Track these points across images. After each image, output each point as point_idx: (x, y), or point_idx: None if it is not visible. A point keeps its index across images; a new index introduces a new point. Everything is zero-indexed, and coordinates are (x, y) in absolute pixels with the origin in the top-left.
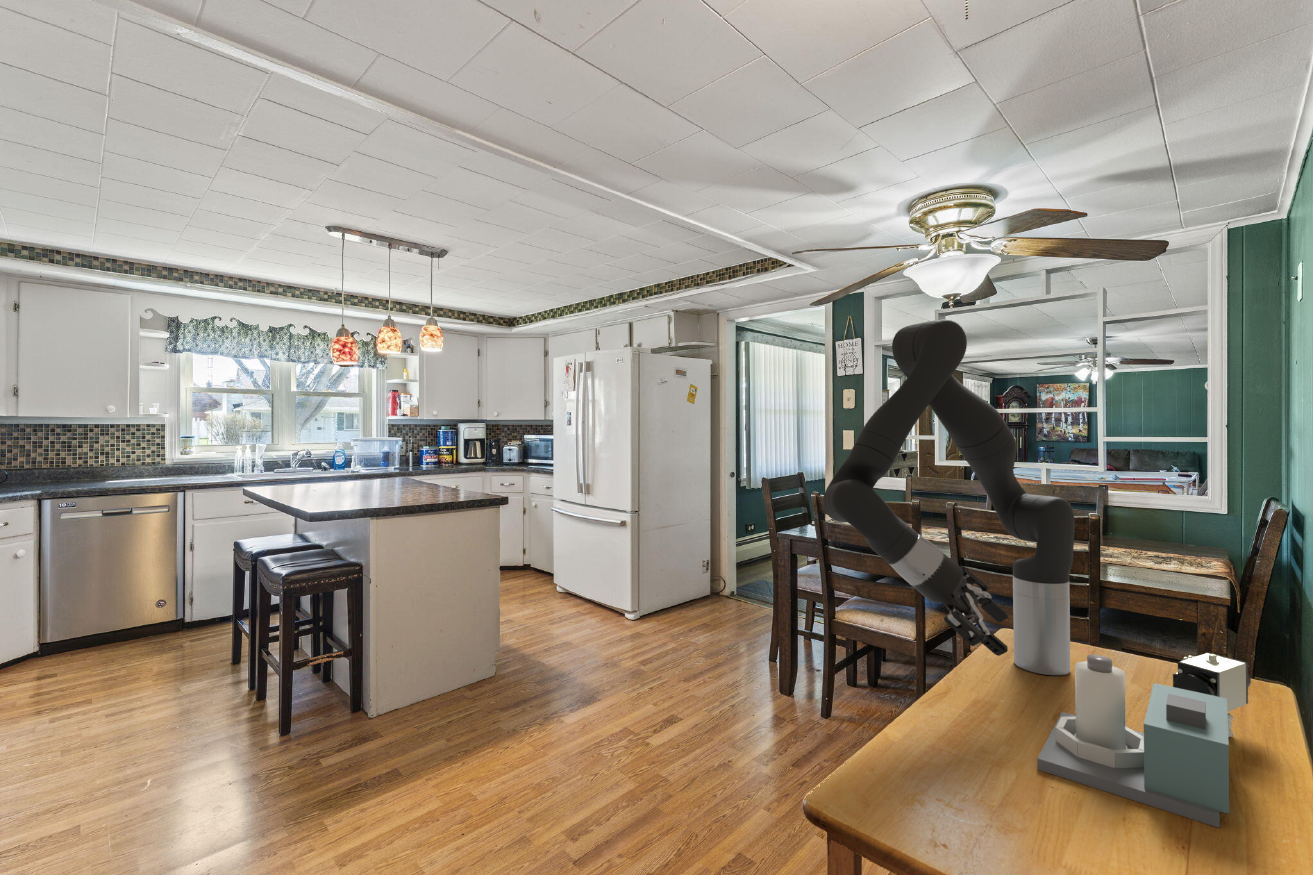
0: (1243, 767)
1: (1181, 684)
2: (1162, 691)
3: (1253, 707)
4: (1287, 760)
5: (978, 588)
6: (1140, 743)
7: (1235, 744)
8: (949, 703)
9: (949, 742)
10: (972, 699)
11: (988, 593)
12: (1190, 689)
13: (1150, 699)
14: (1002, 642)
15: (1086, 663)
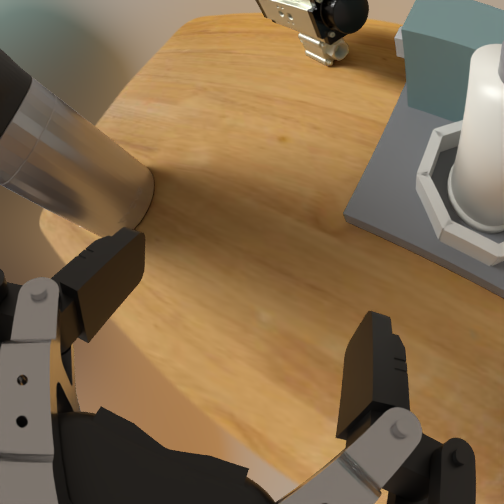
0: None
1: (340, 14)
2: (444, 31)
3: (239, 26)
4: (371, 24)
5: (6, 376)
6: None
7: (348, 45)
8: (297, 437)
9: (481, 471)
10: (268, 379)
11: (27, 287)
12: (350, 12)
13: None
14: (376, 333)
15: (497, 92)
